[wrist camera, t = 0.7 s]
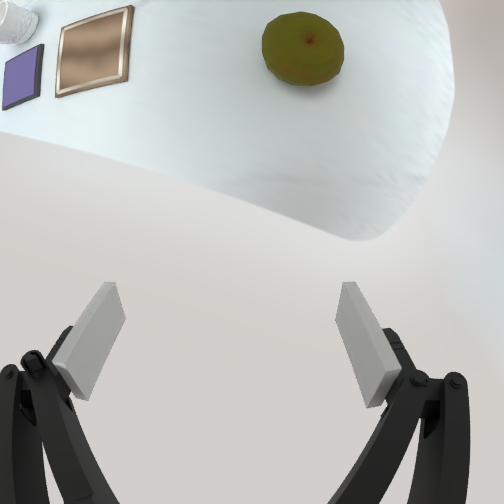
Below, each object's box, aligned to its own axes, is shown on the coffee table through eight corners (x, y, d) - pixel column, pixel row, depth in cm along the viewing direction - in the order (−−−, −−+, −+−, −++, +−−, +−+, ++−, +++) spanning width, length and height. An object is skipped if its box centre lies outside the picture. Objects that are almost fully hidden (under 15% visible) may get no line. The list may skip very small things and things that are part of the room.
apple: (248, 37, 30) (249, 8, 20) (314, 21, 28) (336, -8, 18) (275, 99, 34) (286, 89, 24) (340, 81, 32) (371, 69, 22)
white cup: (34, 4, 21) (2, -6, 12) (46, 21, 24) (11, 11, 15) (9, 35, 23) (-24, 31, 14) (19, 54, 26) (-17, 51, 17)
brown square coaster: (64, 28, 25) (60, 27, 24) (133, 7, 26) (130, 4, 25) (58, 97, 31) (54, 97, 30) (127, 80, 31) (124, 80, 30)
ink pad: (8, 62, 26) (4, 62, 25) (44, 44, 26) (39, 43, 25) (5, 110, 30) (1, 110, 29) (39, 95, 30) (35, 95, 29)
